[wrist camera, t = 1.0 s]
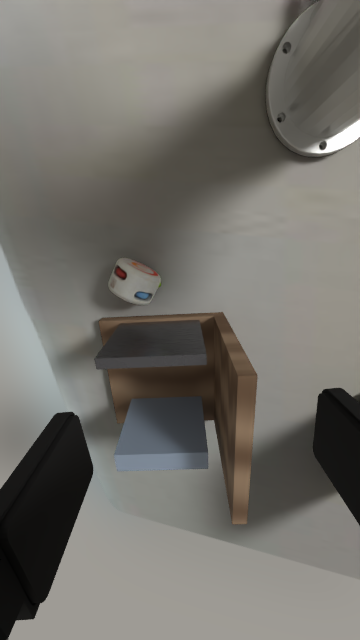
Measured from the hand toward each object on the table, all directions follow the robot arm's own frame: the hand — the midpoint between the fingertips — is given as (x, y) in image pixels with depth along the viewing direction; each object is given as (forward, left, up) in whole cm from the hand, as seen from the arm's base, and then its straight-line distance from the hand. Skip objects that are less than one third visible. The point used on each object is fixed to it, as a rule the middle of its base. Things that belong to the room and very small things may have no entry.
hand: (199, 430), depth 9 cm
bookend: (+4, -4, -23) cm, 24 cm away
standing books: (+19, -4, -23) cm, 30 cm away
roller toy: (-2, -6, -25) cm, 26 cm away
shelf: (+12, -4, -24) cm, 28 cm away
